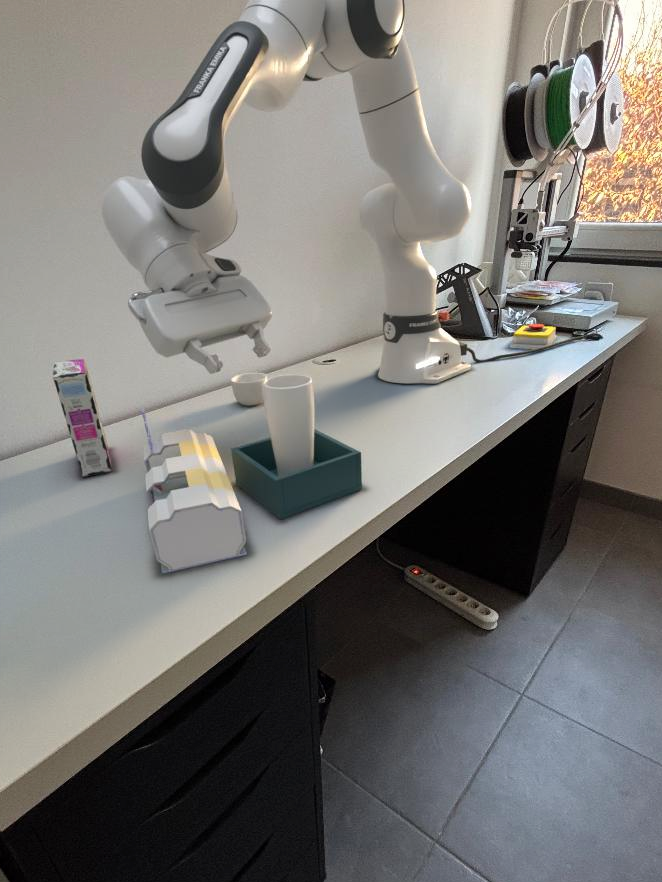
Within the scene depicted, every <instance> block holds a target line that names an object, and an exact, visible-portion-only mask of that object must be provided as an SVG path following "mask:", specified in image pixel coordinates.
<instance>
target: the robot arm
mask: <svg viewBox="0 0 662 882" xmlns="http://www.w3.org/2000/svg"><path fill="white" fill-rule="evenodd" d="M405 10H406V8H405V0H248V1H247V3H246V5H245V6H244V9H243V10H242V12H241V14H240V16H239V18H238V21H235V22H232V23H231V24H229V25H228V26H227V27H226V28H225V29H224V30H222V31H221V33H220V34H219V36H218V37H217V38H216V40H215V41H214V42H213V44H212V45H211V47H210V48H209V49H208V51H207V53H206V54H205V56H204V57H203V59H202V61H201V62H200V64H199V65H198V67H197V69H196V70H195V71H194V73H193V75H192V77H191V78H190V80H189V81H188V83H187V85H186V86H185V88H184V89H183V91H182V92H181V94H180V95H179V97H178V98H177V99H176V100H175V102H174V103H173V104H172V105H171V106H170V107H169V108H168V109H167V110H165V111H164V112H163V114H161V115H160V116H159V117H158V118H157V119H156V120H155V121H154V122H153V123H152V124H151V125H150V127H149V128H148V130H147V131H146V133H145V135H144V138H143V140H142V143H141V144H142V145H141V150H140V151H141V154H140V155H141V157H140V158H141V163H142V167H143V170H144V173H145V174H146V176H147V178H148V179H141V178H137V177H134V176H130V175H125V176H121V177H119V178H117V179H115V180H114V181H113V182H112V183H111V184H110V185H109V187H108V188H107V190H106V191H105V193H104V195H103V198H102V201H101V202H102V203H101V215H102V220H103V222H104V225H105V227H106V229H107V232H108V234H109V236H110V237H111V239H112V241H113V242H114V244H115V245H116V247H117V248H118V250H119V251H120V253H121V254H122V255H123V257H124V258H125V259H126V261H127V262H128V263H129V264H130V265H131V266H132V267H133V268H134V269H136V270H137V271H138V272H139V274H140V275H141V277H142V280H143V282H144V284H145V286H146V287H147V289H148V290H147V291H137V292H134V293H132V294H131V297H130V298H129V299H128V301H127V306H128V309H129V311H130V312H131V313H132V315H133V317H134V318H135V319H136V320H137V321H138V323H139V325H140V327H141V329H142V331H143V333H144V335H145V337H146V339H147V340H148V342H149V343H150V345H151V346H152V348H153V349H154V351H155V352H156V353H157V354H158V355H160V356H162V357H164V358H170V357H174V356H178V355H180V354H185V355H187V357H188V358H189V359H190V360H192V361H194V362H195V363H198V364H199V365H201V366H203V367H204V368H205V369H206V370H207V372H208V374H210V375H212V374H216V373H219V372H220V371H221V369H222V368H223V367H224V364H223V361H222V360H220V358H219V355H217V354H210V353H209V352H208V351H206V350H205V349H203V348H206V347H209V346H212V345H215V344H219V343H223V342H226V341H229V340H233V339H237V338H239V337H244V336H247V337H248V338H249V339H250V340H253V343H254V346H253V347H252V349H251V351H253V352H254V354H256V356H257V357H258V358H264V357H266V356H268V355H269V353H270V352H271V346H270V345H269V343H267V341H266V338H265V332H264V330H265V328H266V327H267V326H268V324H269V322H270V321H271V319H272V317H273V312H272V308H271V306H270V304H269V303H268V302H267V300H266V298H265V297H264V296H263V295H262V293H261V292H260V291H259V289H258V288H257V287H256V286H255V285H254V284H253V282H252V281H251V280H250V279H248V278H247V277H245V276H243V275H241V273H242V268H241V266H240V264H238V262H237V261H235V260H233V259H230V258H223V257H218V256H214V255H211V254H209V253H208V252H210V251H212V250H213V249H216V248H217V247H219V246H221V245H222V244H224V243H225V242H226V241H228V240H229V239H230V237H231V236H232V235H233V234H234V232H235V230H236V228H237V227H236V226H237V223H238V209H237V206H236V201H235V195H234V191H233V188H232V186H231V182H230V178H229V174H228V170H227V165H226V164H227V163H226V157H225V156H226V155H225V154H226V153H225V138H226V132H227V130H228V128H229V126H230V125H231V123H232V121H233V119H234V117H235V116H236V115H237V113H238V111H239V110H240V108H241V106H242V104H243V103H244V104H245V105H247V106H248V107H250V108H253V109H254V110H257V111H261V112H267V113H272V112H277V111H280V110H283V109H285V108H286V107H287V106H288V104H289V103H290V102H291V101H292V100H293V98H294V97H295V95H296V94H297V92H298V91H299V89H300V87H301V85H302V83H303V82H317V81H320V80H323V79H324V78H329V77H333V76H338V75H342V74H344V73H347V72H348V73H349V74H350V76H351V81H352V87H353V93H354V98H355V103H356V107H357V112H358V115H359V120H360V124H361V128H362V131H363V136H364V140H365V143H366V148H367V152H368V155H369V157H370V160H371V161H372V162H373V163H374V165H376V167H378V168H380V169H381V170H382V171H384V173H385V174H386V175H387V176H388V177H389V179H390V180H391V182H388V183H384V184H382V185H380V186H378V187H375V188H373V189H371V190H370V191H368V192H367V193H366V194H365V195H364V197H363V199H362V200H361V203H360V207H359V223H360V227H361V228H362V231H363V232H364V234H365V235H366V236H367V237H368V238H369V239H370V241H371V242H372V244H373V245H374V247H375V249H376V252H377V255H378V257H379V258H378V259H379V261H380V264H381V268H382V273H383V282H384V284H383V285H384V313H382V331H383V345H382V354H381V359H380V360H381V361H380V366H379V369H378V374H377V377H378V378H379V379H380V380H382V381H385V382H389V383H394V384H430V385H431V384H432V385H435V384H439V383H442V382H444V381H446V380H449V379H451V378H453V377H456V376H458V375H460V374H464V373H465V372H468V371H470V370H471V368H472V366H471V364H470V363H468V362H466V361H464V360H462V357H463V356H467V355H468V354H467V353H470V354H471V357H472V360H473V362H475V363H487V362H493V361H496V360H500V359H507V358H512V357H517V356H524V355H529V354H533V353H538V352H541V351H545V349H546V350H548V349H551V348H554V347H557V346H560V345H563V344H567V343H570V342H574V341H578V340H579V341H580V340H584V339H587V338H590V337H598V338H599V339H600V340H602V339H603V340H604V336H603V335H602V334H601V333H598V332H592V333H588V334H584V335H581V336H576V337H575V336H574V337H572V338H567V339H564V340H561V341H558V342H553V343H551V344H550V345H548V346H544V347H541V348H537V349H528V350H525V351H524V350H523V351H519V352H512V353H506V354H505V353H504V354H499V355H496V356H493V357H491V358H485V359H479V358H477V357H476V352H475V351H474V350H473V349H472V348H470V347H468V343H465V342H461V341H457V340H456V339H455V338H454V337H453V336H451V335H450V334H449V333H448V332H447V331H445V330H444V329H443V328H442V325H441V321H443V322H447V321H449V319H450V316H451V315H450V312H449V311H443V310H441V311H439V312H437V310H436V308H437V307H436V305H437V304H436V303H437V286H438V285H437V283H438V277H437V272H436V269H435V268H434V267H433V266H432V265H431V264H430V263H429V262H427V260H426V259H425V257H424V255H423V252H422V249H421V243H439V242H442V241H445V240H449V239H453V238H456V237H457V236H459V235H460V234H461V233H462V232H463V231H464V230H465V228H466V226H467V224H468V223H469V222H468V221H469V219H470V216H471V211H472V201H471V196H470V193H469V190H468V188H467V186H466V185H465V184H464V182H462V181H460V180H459V179H458V178H456V177H455V176H454V175H452V173H451V172H450V171H449V170H448V168H446V166H445V165H444V162H442V160H441V158H440V157H439V155H438V153H437V152H436V150H435V148H434V145H433V142H432V140H431V137H430V134H429V132H428V128H427V123H426V118H425V113H424V109H423V104H422V100H421V94H420V93H421V92H420V89H419V83H418V79H417V78H418V77H417V74H416V68H415V65H414V61H413V57H412V54H411V50H410V48H409V45H408V42H407V39H406V36H405V34H404V31H403V30H404V25H405V18H406V17H405V16H406V15H405V14H406V12H405Z"/></svg>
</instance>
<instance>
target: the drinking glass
mask: <svg viewBox="0 0 662 882" xmlns="http://www.w3.org/2000/svg"><path fill="white" fill-rule="evenodd" d="M267 378H268V377H267ZM263 395H264V401H263V405H264V411H265V417H266V418H265V419H266V422H267V427H268V431H269V432H268V433H269V438H270V437H271V442H272V447H273V452H274V457H275V462H276V467H277V474H278V477H280V476H283V475H286V474H289V473H292V472H295V471H298V470H301V469H304V468H307V467H310V466H313V465H314V429H315V422H316V421H315V416H316V414H315V413H316V412H315V410H316V409H315V407H316V406H315V393H314V385H313V379H312V377H311V376H309V375H305V374H299V373H286V374H280V375H274V376H271V377H269V378H268V379H266V380H265V381H264V382H263Z"/></svg>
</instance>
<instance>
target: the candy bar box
mask: <svg viewBox="0 0 662 882" xmlns="http://www.w3.org/2000/svg"><path fill="white" fill-rule="evenodd" d="M52 371H53V372H52V379H53V383H54V386H55V388H56V392H57V396H58V399H59V402H60V405H61V409H62V412H63V415H64V418H65V423H66V425H67V429H68V433H69V435H70V440H71V442H72V446H73V449H74V452H75V456H76V459H77V462H78V466H79V469H80V473H81V477H83V478H86V477H91V476H97V475H102V474H107V473H110V472H111V473H112V472H113V467H112V460H111V455H110V451H109V447H108V442H107V437H106V434H105V430H104V427H103V423H102V419H101V415H100V411H99V407H98V403H97V399H96V395H95V393H94V389H93V385H92V381H91V377H90V374H89V371H88V367H87V364H86V360H85V359H84V358H79V359H71V360H70V359H69V360H64V361H58V362H54V363H53V370H52Z"/></svg>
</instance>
